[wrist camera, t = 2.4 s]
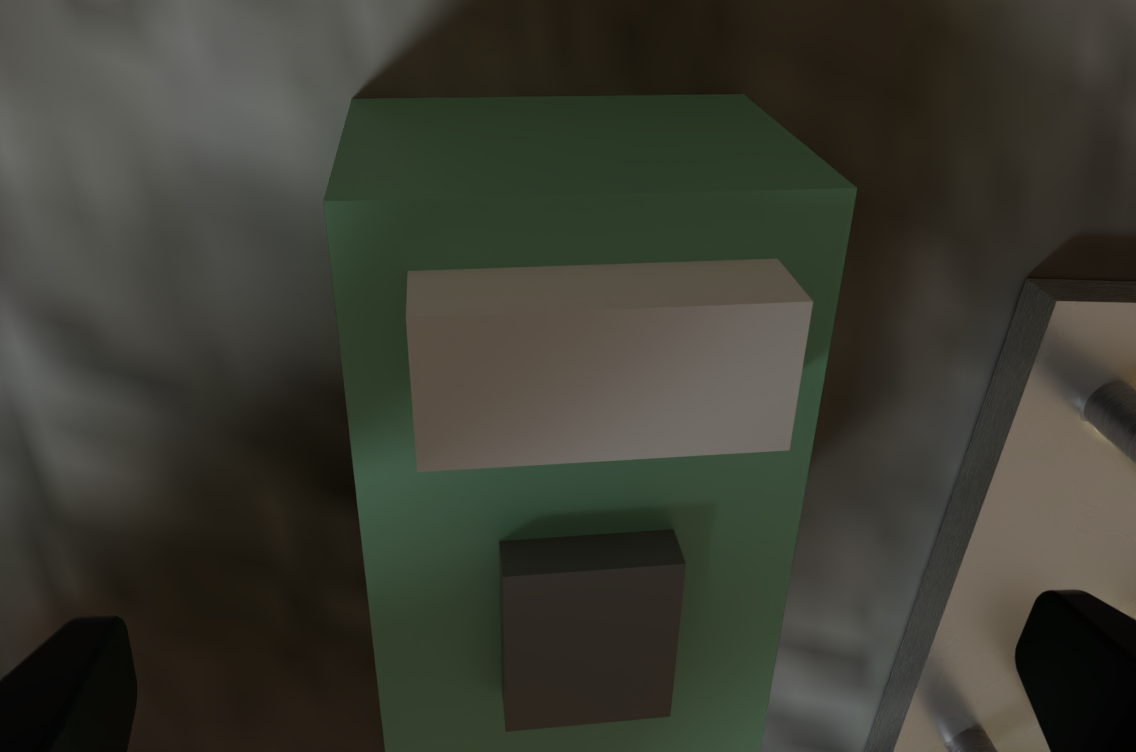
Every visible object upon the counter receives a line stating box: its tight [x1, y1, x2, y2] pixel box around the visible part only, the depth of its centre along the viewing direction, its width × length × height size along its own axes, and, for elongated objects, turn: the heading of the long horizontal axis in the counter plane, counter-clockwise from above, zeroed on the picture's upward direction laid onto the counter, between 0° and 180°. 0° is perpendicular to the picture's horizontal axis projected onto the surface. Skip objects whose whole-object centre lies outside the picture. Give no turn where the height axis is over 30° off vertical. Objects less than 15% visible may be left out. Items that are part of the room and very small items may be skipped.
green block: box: [323, 94, 857, 752], centre depth 12 cm, size 8×5×5 cm, turn 179°
